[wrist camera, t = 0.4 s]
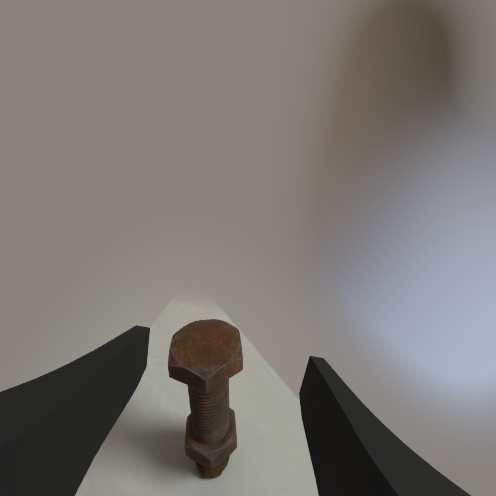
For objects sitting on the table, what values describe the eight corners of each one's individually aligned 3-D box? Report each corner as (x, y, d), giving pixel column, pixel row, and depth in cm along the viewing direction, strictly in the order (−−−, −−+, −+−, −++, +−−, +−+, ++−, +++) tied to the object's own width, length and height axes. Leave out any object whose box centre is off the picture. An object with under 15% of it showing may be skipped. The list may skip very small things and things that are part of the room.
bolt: (171, 476, 23) (149, 354, 17) (201, 423, 27) (191, 311, 21) (228, 508, 21) (226, 384, 15) (250, 446, 25) (255, 330, 19)
